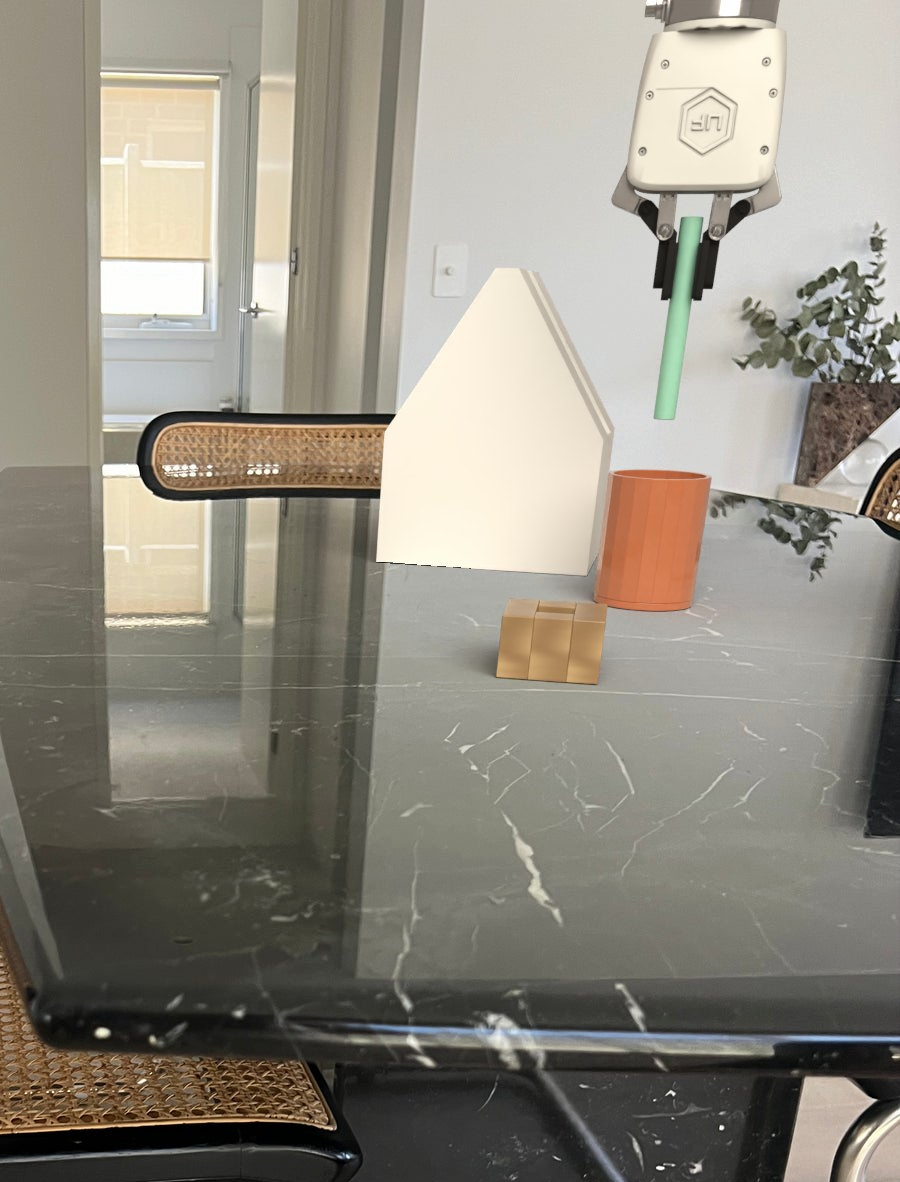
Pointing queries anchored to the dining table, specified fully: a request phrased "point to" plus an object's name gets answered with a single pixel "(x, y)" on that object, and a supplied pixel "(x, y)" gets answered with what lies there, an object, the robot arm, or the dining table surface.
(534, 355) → the white house shaped block
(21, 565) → the dining table surface
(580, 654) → the straw holder
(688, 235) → the straw
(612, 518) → the cup
